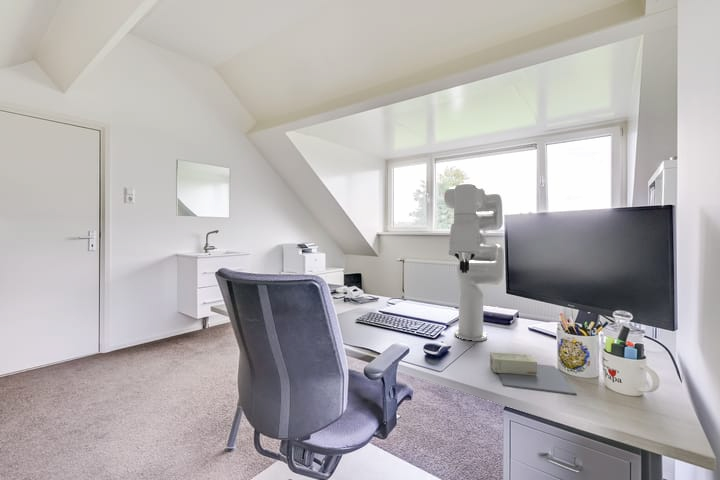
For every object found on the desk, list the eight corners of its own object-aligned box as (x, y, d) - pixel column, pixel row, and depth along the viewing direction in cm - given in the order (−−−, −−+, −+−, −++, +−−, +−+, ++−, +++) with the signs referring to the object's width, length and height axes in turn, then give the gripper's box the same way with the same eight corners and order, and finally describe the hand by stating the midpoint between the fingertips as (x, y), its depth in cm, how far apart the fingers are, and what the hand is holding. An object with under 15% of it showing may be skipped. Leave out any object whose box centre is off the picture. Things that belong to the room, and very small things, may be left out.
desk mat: (494, 360, 107) (494, 359, 107) (554, 367, 102) (554, 365, 102) (503, 385, 90) (503, 384, 90) (576, 394, 85) (576, 393, 85)
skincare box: (493, 372, 97) (537, 377, 94) (493, 358, 97) (537, 362, 94) (489, 364, 103) (530, 368, 101) (489, 351, 103) (530, 354, 101)
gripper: (486, 220, 112) (485, 272, 113) (443, 220, 116) (442, 270, 116) (489, 219, 105) (488, 274, 105) (442, 219, 109) (441, 273, 109)
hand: (464, 272), depth 111 cm, fingers closed
